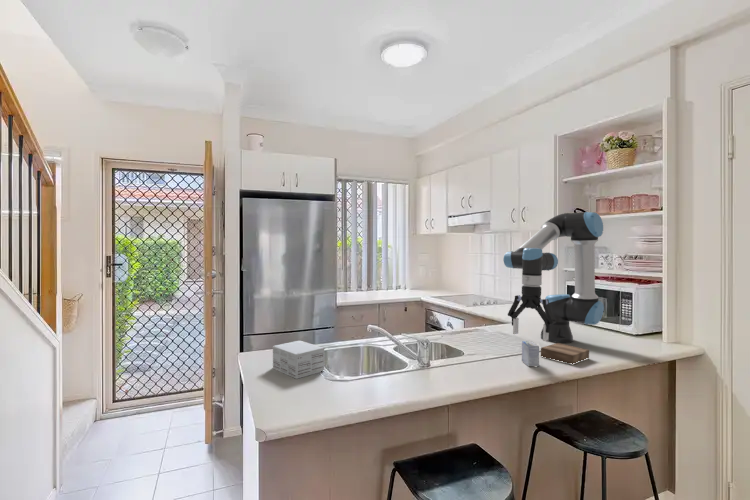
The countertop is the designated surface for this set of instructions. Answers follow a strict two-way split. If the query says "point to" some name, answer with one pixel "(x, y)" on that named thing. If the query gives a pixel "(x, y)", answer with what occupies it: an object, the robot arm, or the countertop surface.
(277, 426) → the countertop surface
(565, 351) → the walnut base block
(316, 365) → the supplement box
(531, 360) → the medicine box
